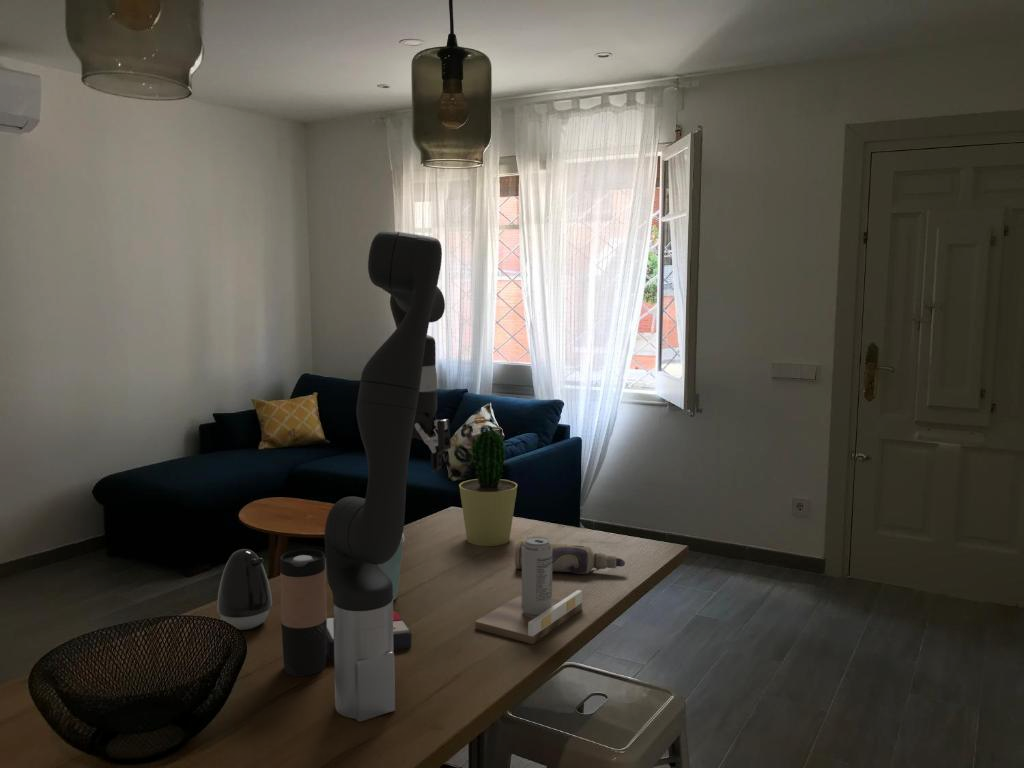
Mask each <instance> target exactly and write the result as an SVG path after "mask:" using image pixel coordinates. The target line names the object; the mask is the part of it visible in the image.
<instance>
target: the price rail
mask: <svg viewBox="0 0 1024 768" xmlns="http://www.w3.org/2000/svg"><path fill="white" fill-rule="evenodd" d="M581 603H582V604H583V590H580V589H577V590H576V591H574V592H573V593H571V594H569V595H568V596H567V597H565V599H563V600H562V601H560V602H559V603H557V604H556V605H554V606H553V607H551V608H550V609H548V610H546V611H545V612H543V613H542V614H540V615H539V616H537V617H536V618H534V619H533V620H531V621H530V622H528V635H529V636H532V637H533V636H534V635H536V634H537V633H539V632H540V631H541V630H543V629H544V628H546V627H547V626H549V625H550V624H552V623H553V622H555V621H556V620H557V619H559V618H560V617H562V616H563V615H565V614H566V613H568V612H569V611H570V610H572V609H573V608H575V607H576V606H578V605H579V604H581Z"/></svg>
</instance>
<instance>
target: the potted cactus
mask: <svg viewBox="0 0 1024 768" xmlns="http://www.w3.org/2000/svg"><path fill="white" fill-rule="evenodd" d="M474 437H476V438H475V439H474V442H473V444H471V447H472V448H471V451H472V453H471V454H470V455H471V456H472V461H471V463H474V465H473V466H474V467H475V469H476V470H475V471H476V473H475V475H476V478H475V479H469V480H466V481H465V480H464V481H462V482H460V483H459V484H458V487H459V494H460V500H461V507H462V514H463V520H464V527H465V535H466V540H467V542H468V543H469V544H471V545H476V546H482V547H493V546H494V547H495V546H501V545H505V544H506V543H508V542H509V541H510V538H511V532H512V531H511V530H512V525H513V517H514V511H515V503H516V499H517V493H518V492H517V491H518V483H516V482H515V481H513V480H512V481H511V480H509V479H504V478H502V474H503V473H502V472H505V471H504V470H503V465H504V466H506V464H508V463H507V461H506V455H507V453H505V451H506V448H508V447H507V446H504V441H505V440H503V437H501V436H500V435H499V434H498V432H497V429H495V430H493V429H486V430H485V431H480V433H479V435H478V436H475V435H474ZM501 478H502V479H501Z"/></svg>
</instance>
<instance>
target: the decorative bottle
mask: <svg viewBox="0 0 1024 768" xmlns="http://www.w3.org/2000/svg"><path fill="white" fill-rule="evenodd" d="M524 544H525V541H523V540H518V541H517V543H516V546H515V555H514V567H515V569H518V570H522V548H523V546H524ZM550 545H551V547H552V572H557V573H560V572H561V573H562V572H563V573H569V572H570V573H572V574H576V575H581V574H584V575H589V574H591V573H593V572H595V571H598V570H602V569H603V570H604V569H607V568H608V569H616V568H617V567H624V566H625V565H626V564H625V563H626V562H625V560H624V559H622V558H619V557H617V556H616V555H607V554H605V553H601V552H593V550H592V549H591V547H590V546H585V545H571V544H563V543H562V544H561V543H550ZM592 569H593V570H592Z"/></svg>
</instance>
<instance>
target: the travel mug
mask: <svg viewBox="0 0 1024 768" xmlns="http://www.w3.org/2000/svg"><path fill="white" fill-rule="evenodd" d="M279 560H280V561H279V562H280V564H279V565H280V566H279V567H280V622H281V623H280V625H281V639H282V641H281V642H282V654H283V655H282V657H283V669H284V672H285V673H286V674H288V675H291V676H292V677H293V676H294V677H305V676H306V677H308V676H312V675H316V674H318V673H320V672H322V671H323V670H324V669H326V665H327V653H326V635H327V618H328V617H327V616H328V615H327V586H326V585H327V583H326V582H327V581H326V554H325V553H324V552H323V551H320V550H319V549H312V548H311V549H309V548H304V549H296V550H290V551H288V552H285V553H283V554H282V555H281V556H280V558H279Z"/></svg>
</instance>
